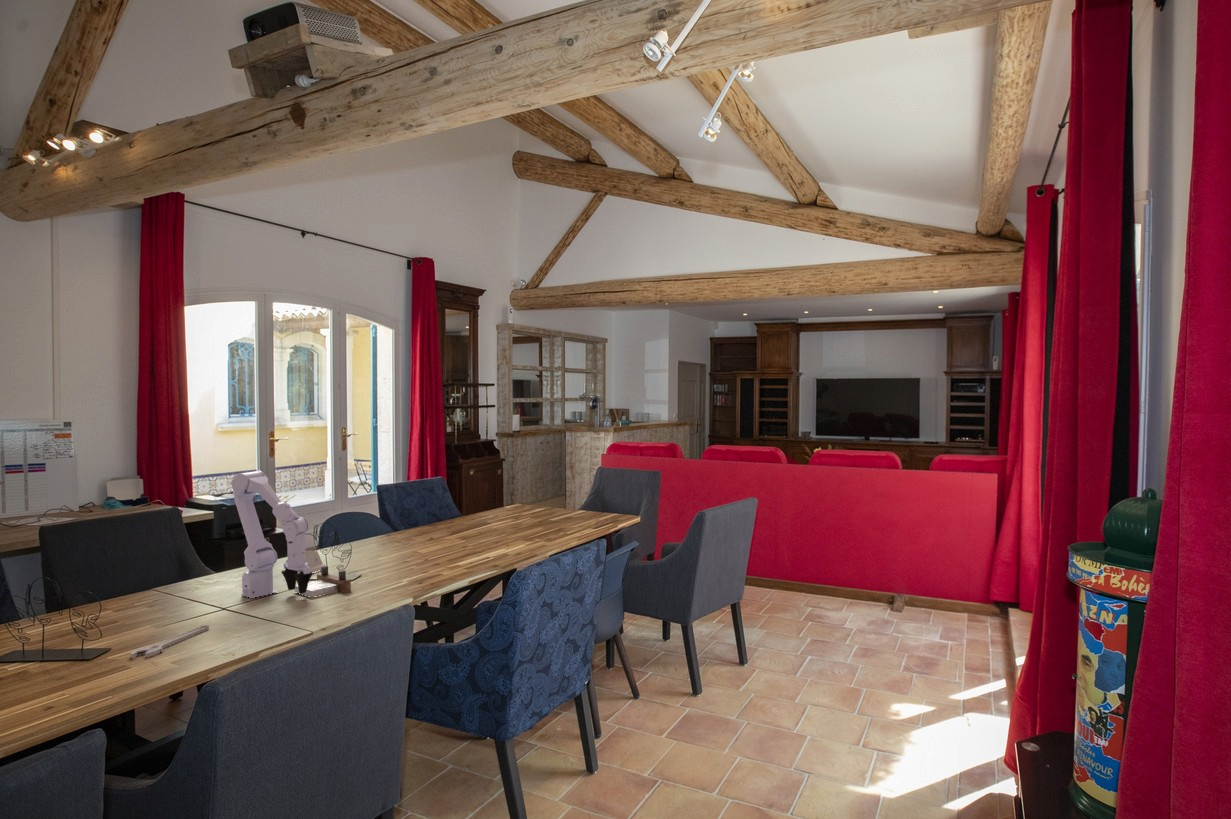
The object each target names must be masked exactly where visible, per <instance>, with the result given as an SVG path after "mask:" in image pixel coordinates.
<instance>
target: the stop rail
mask: <svg viewBox="0 0 1231 819" xmlns="http://www.w3.org/2000/svg"><path fill="white" fill-rule="evenodd" d="M320 572H321V573H316V581H318V580H323V581H326V582H330V583H333V584H337V585H338V592H339V591H341V592H340V593H342V592H344V593H347V592H346V591H348V592H351V591H352V584H351V583H352V582H351V581H352V580H351V579H349V578H347V575H346V574H347V570H338V575H335V574H334V575H333V574H330V573H329V565H326V566H322V567H321V571H320Z"/></svg>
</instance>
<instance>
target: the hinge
mask: <svg viewBox="0 0 1231 819" xmlns="http://www.w3.org/2000/svg"><path fill="white" fill-rule="evenodd" d="M287 562H288V558H286V560H285V561H284V563H287ZM305 563H308V564H309V565H308V567H310V572H315V571H318V570H321V567H322V566H327V565H326V564H325V563H323V561H322V558H321V556H320V554H319V552H318V551H317V550H311V549H309V550H305ZM298 573H300V572H298ZM298 573H297V574H298Z"/></svg>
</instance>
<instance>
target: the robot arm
mask: <svg viewBox="0 0 1231 819" xmlns="http://www.w3.org/2000/svg"><path fill="white" fill-rule="evenodd" d="M230 484H231V486H232V489H233V499H234V502H235V506H236V508H237V512H238V516H239V520H240V523H241V525H242V529H243V531H244V532H243V533H244V535H245V540H246V542H247V545H248V546H247V547H246V549H245V550H244V552H243V554H244V565H245V567H246V569H247V570H248V571H247V572H244V573H243V574H242V575H241V576H242V578H241V584H242V586H241V588H242V590H241V591H242V593H241V596H242V595H243V597H245V596H246V598H248V597H249V598H248V599H251V598H253V599H256V598H255V597H257V598H260V597H259V596H262V597H264V596H263V595H266V596H269V595H268V594H270V595H273V594H272V593H275V594H277V593H276V592H278V593H279V590H274V575H273V574H274V572H273V569H274V566H275V565H276V563H277V561H278V553H277V551H276V550H275V549H274V547H273V544H272V543H270V542H269V541H268V540H266V539H265V536H264V533H263V529H262V526H261V523H260V519H259V516H258V513H257V510H256V507H255V504H254V501H253V498H254V497H255V496H256V494H258V495H260V496H261V498H262V499H263V500H264V501H265V502H266V503H267V504H268V505H269V506H270V507H271V508H272V511H271V512H272V514H273V515H274V517H275V518H276V519H277V520H278V522H279V523H280V524H281V526H283V528H282V532H283V534H284V535H285V540H286V546H287V548H286V549H287V559H288V562H287V563H285V562H283V569H284V570H281V574H282V576H283V577H284V580H285V583H286V586H287V589H288V591H293V590H294V589H295V587H296V585H298V589H299V593H300V594H302V593H306V590H307V586H308V583H309V582H310V579H311V578H312V576H313V574H312V572H310V567H308V565H309V564H308V563H305V551H306V533H307V531H308V530H309V523H308V520H307V519H306V518H305V517H302V516H300V515H298V514H297V513H296V512H295V511H294V510H293V508H292V506H291V504H289V503H288V502H286V501H284V502H283V501H281V499H280V498H279V496H278V495H277V494H276V491H275V490H274V489H273V488H272V486H271V485H270V484H269V478H268V476H267V475H266V474H265V473H264V472H263V471H261V470H255V471H250V472H249V471H248V472H239V473H236V474H235V475H234V477H233V479H232V481H231V483H230ZM298 572H300V573H298ZM297 573H298V574H297ZM300 594H299V595H300Z"/></svg>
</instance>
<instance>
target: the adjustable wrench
mask: <svg viewBox="0 0 1231 819" xmlns="http://www.w3.org/2000/svg"><path fill="white" fill-rule="evenodd" d="M207 629H209V630H210V627H209V625H208V624H206V625H200V626H198V627H195V628H193V629H191V630H188V631H186V632H183V633H181V634H178V635H176V636H174V637H170V638H169V639H166V640H163V641H161V642H159V643H156V644H153V645H149V646H148V645H147V646H144V647H140V648H139V647H138V648H137V649H134V650H132V651H131V652H130V658H132V659H136V658H137V657H138V655H139V656H142V655H141V654H143V655H144V658H145V659H146V657H148V658H151V657H150V656H152V657H154V656H153V655H155V656H157V655H159V654H161V653H160V652H162V653H163V652H164V650H165V649H166V648H168V647H167V646H169V647H171V646H173V645H176V644H178V643H180V642H179V641H181V642H183V641H185V640H187V639H186V638H188V639H190V638H192V637H191V636H193V635H195V636H197V635H199V634H198V633H200V632H202V633H204V632H206V631H205V630H207ZM203 631H204V632H203ZM207 631H208V630H207ZM196 634H197V635H196ZM200 634H201V633H200ZM189 637H190V638H189ZM193 637H194V636H193ZM184 639H185V640H184ZM182 640H183V641H182ZM177 642H178V643H177ZM175 643H176V644H175ZM172 644H173V645H172ZM170 645H171V646H170ZM165 647H166V648H165ZM163 648H164V649H163ZM158 653H159V654H158ZM156 654H157V655H156ZM136 656H137V657H136Z"/></svg>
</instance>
